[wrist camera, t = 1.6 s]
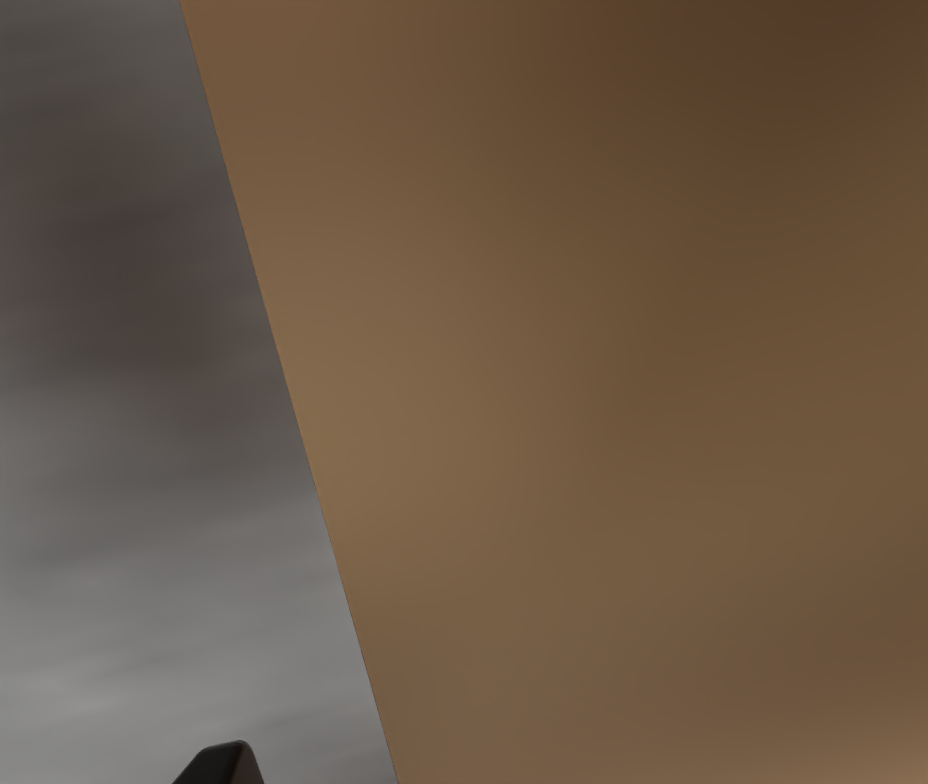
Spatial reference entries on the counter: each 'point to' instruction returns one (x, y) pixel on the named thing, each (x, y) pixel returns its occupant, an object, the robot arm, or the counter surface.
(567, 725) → the shelf plank
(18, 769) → the counter surface
